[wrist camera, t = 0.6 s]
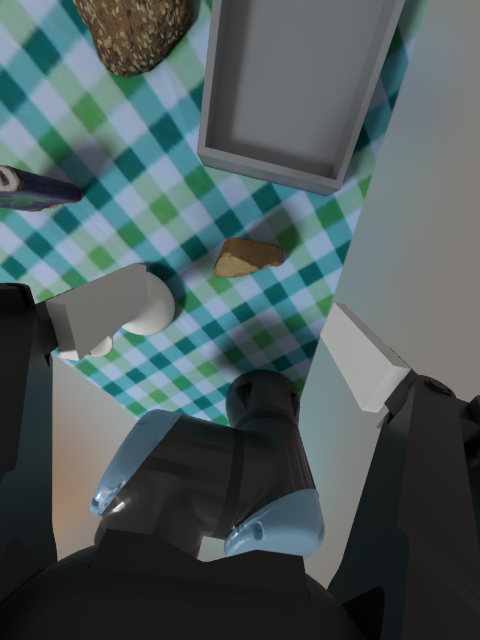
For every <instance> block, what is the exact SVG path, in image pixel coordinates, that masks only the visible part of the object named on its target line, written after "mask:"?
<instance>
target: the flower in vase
mask: <svg viewBox="0 0 480 640" xmlns="http://www.w3.org/2000/svg"><path fill="white" fill-rule="evenodd" d="M146 283H147V303H146V304H145V305H144V306H143V307H141V308H140V309H139V310H138V311H137V312H136V313H134V314H133V315H132V316H131V317H130V318H129V319H127V320H126V321H125V322H124V323H123V324H122V325H120V326H119V327H118V328H117V329H116V330H115V331H113V332H112V333H111V334H110V335H109V336H108V337H106V338H105V339H104V340H103V341H102V342H101V343H99V344H98V345H97V346H96V347H95V348H94V349H92V350H91V351H90V352H89V353H88V354H87V355H86V356H96V357H97V356H103V355H105V354H107V353H108V352H109V351H110V350H111V348H112V346H113V336H114V334H115V333H116V332H117V331H118V330H119V329H120V328H121V327H122V328H124V329H125V330H127V331H129V332H132V333H134V334H139V335H151V334H155V333H158V332H161V331H162V330H164V329H165V328H167V327H168V326H169V324H170V323H171V321H172V319H173V317H174V313H175V303H174V299H173V296H172V294H171V292H170V290H169V288H168V287H167V286H166V284H165V283H164V282H163V281H162V280H161V279H159V278H158V277H157V276H155V275H153V274H152V273H149V272H147V271H146ZM56 349H58V347H57V348H56ZM54 350H55V349H54Z"/></svg>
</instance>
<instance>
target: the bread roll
mask: <svg viewBox="0 0 480 640" xmlns="http://www.w3.org/2000/svg"><path fill="white" fill-rule="evenodd" d="M72 1H73V3H74V5H75V6H76V8H77V11H78V13H79V14H80V16H81V18H82V20H83V22H84V24H86V25H87V27H88V29H89V31H90V33H91V35H92V39H93V43H94V45H95V48H96V50H97V54H98V57H99V59H100V61H101V62H103V64H104V65H105V66H106V69H107V70H108V71H110V72H112V73H114V74H115V75H117V76H119V77H122V76H123V77H128V76H132V75H137V74H138V73H140V72H142V73H143V72H148V71H149V69H150V68H151V67H153V66H155V64H156V63H157V62H158V61H160V60H162V59H163V58H164V56H165V55H166V54H167V52H168V51H169V50H170V48H171V47H172V45H173V44H174V43H175V42H176V41H177V40H178V38H179V37H180V36H181V35H182V34H183V33H184V32H185V31H186V30H187V28H188V26H189V24H190V22H191V20H192V0H72Z"/></svg>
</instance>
